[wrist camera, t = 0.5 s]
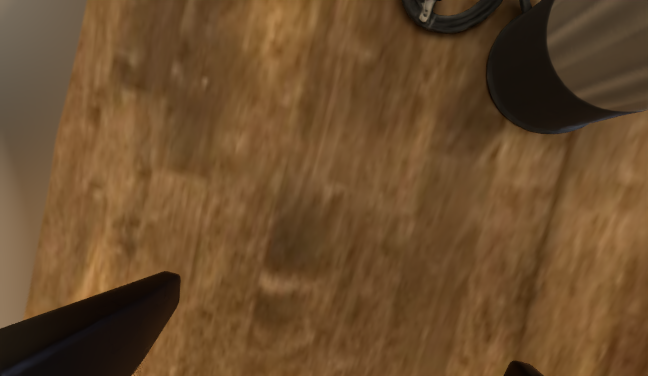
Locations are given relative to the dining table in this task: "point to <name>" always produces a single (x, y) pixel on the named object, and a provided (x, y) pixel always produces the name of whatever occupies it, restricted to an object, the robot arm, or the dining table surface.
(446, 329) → the dining table surface
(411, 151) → the dining table surface
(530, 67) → the milk frother
